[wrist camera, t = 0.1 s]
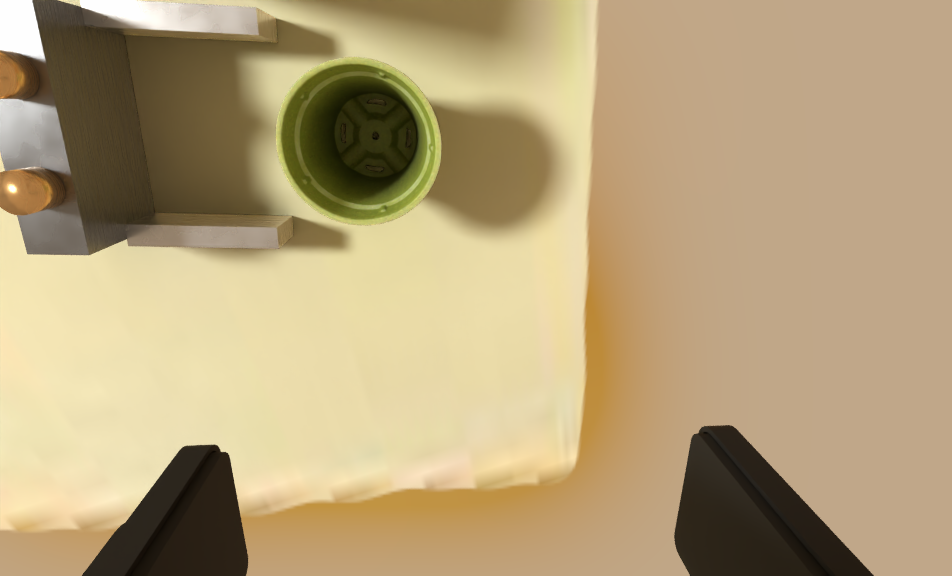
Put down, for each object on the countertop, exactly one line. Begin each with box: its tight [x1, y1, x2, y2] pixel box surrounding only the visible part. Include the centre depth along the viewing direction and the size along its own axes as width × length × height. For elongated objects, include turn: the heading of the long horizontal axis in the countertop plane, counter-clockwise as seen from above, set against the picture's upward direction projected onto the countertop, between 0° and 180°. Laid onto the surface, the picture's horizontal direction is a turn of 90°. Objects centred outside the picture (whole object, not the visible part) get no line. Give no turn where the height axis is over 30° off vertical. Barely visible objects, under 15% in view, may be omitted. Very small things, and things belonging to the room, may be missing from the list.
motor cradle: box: [0, 0, 294, 255], centre depth 31 cm, size 15×14×10 cm
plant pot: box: [276, 57, 442, 225], centre depth 33 cm, size 9×9×9 cm
